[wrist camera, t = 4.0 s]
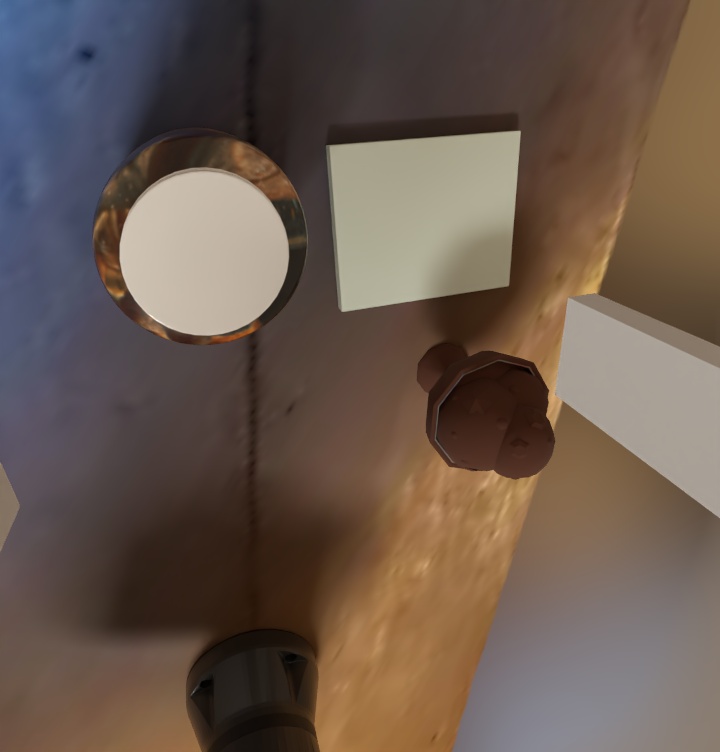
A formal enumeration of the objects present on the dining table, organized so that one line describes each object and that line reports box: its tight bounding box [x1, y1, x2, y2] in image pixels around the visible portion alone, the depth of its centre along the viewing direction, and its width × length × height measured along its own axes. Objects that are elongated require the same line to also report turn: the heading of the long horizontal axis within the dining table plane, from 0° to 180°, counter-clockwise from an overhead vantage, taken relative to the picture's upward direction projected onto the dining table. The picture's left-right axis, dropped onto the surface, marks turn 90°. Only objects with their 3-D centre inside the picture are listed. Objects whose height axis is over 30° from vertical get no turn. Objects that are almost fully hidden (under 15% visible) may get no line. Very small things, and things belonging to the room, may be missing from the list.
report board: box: [326, 131, 521, 312], centre depth 44 cm, size 16×13×1 cm
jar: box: [92, 127, 308, 345], centre depth 33 cm, size 12×12×15 cm
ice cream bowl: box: [417, 343, 555, 479], centre depth 45 cm, size 11×11×15 cm
